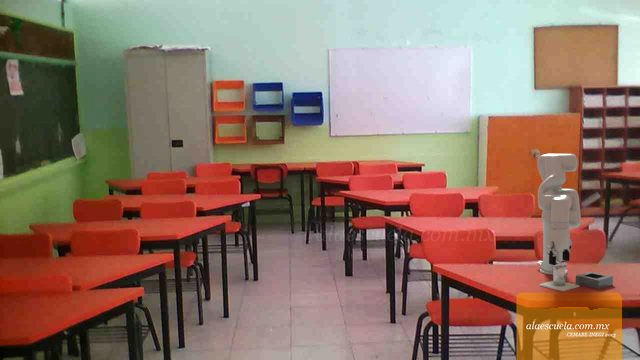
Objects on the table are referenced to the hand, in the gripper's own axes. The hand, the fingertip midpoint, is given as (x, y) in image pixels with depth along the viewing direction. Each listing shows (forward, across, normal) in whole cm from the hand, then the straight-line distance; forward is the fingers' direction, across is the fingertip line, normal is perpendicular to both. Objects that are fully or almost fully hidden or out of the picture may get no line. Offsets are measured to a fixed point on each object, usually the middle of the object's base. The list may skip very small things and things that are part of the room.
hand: (559, 262), depth 267 cm
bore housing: (+11, -13, +9) cm, 19 cm away
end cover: (+10, +1, +1) cm, 10 cm away
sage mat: (+10, +1, +1) cm, 11 cm away
